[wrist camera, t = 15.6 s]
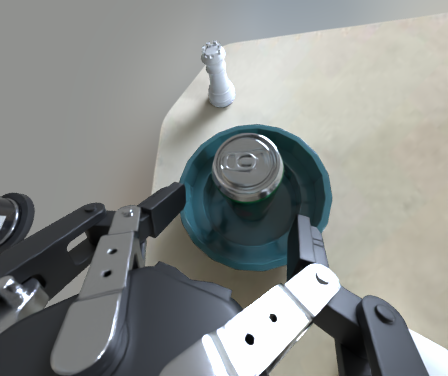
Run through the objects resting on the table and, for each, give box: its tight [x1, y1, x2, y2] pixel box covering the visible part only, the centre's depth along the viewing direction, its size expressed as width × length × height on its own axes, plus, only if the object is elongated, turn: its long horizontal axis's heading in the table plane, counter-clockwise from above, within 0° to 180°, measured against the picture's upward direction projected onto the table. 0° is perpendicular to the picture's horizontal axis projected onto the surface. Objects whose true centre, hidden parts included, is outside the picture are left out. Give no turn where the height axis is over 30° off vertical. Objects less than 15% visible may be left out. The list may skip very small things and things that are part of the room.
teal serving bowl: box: [179, 124, 332, 271], centre depth 20 cm, size 15×15×6 cm
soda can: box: [212, 133, 284, 221], centre depth 17 cm, size 5×5×12 cm
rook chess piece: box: [201, 41, 235, 107], centre depth 25 cm, size 4×4×8 cm
